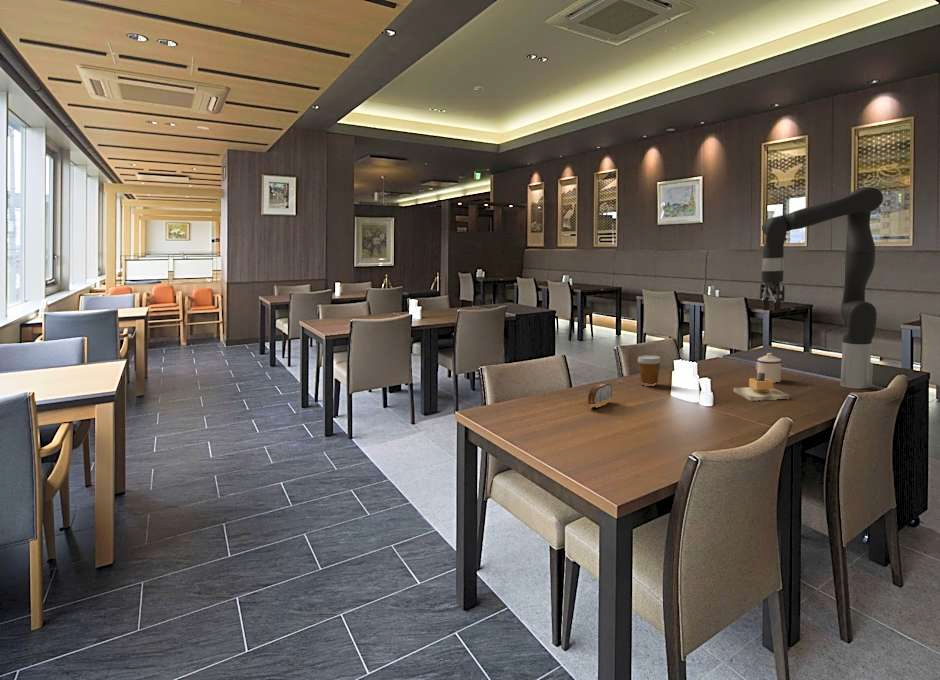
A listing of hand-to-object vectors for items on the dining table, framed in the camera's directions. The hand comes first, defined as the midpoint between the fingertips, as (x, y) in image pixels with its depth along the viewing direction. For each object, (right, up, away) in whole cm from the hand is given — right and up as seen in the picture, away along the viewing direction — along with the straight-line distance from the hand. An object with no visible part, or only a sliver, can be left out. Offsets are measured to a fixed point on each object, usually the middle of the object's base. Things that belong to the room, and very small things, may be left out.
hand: (771, 311), depth 221 cm
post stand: (-9, -32, -9) cm, 35 cm away
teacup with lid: (+6, -28, +14) cm, 32 cm away
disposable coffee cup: (-43, -31, +15) cm, 55 cm away
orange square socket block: (-9, -29, -10) cm, 32 cm away
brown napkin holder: (-70, -36, -14) cm, 80 cm away
